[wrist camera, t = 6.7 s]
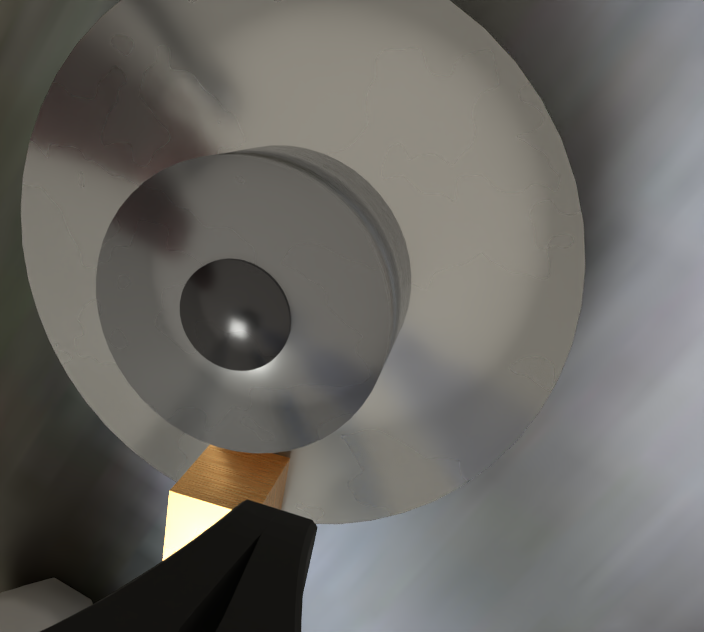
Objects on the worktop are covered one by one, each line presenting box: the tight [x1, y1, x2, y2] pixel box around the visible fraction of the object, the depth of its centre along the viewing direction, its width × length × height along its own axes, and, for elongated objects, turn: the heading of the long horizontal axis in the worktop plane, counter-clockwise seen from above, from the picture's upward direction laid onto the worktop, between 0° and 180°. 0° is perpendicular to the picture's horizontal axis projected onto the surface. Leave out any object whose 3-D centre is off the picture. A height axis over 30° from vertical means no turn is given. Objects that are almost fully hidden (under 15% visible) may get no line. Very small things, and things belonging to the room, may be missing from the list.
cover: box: [96, 145, 411, 453], centre depth 16 cm, size 7×7×4 cm
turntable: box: [21, 0, 585, 560], centre depth 17 cm, size 16×16×4 cm
